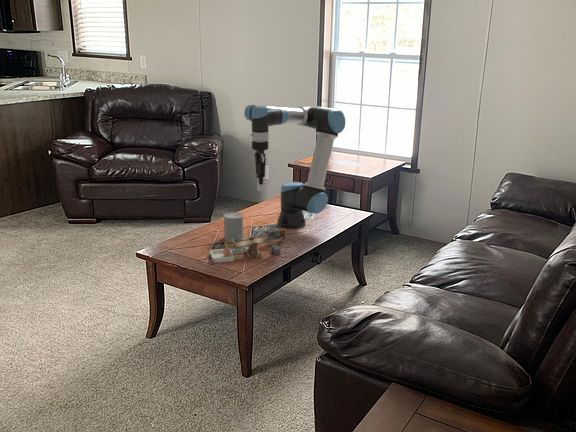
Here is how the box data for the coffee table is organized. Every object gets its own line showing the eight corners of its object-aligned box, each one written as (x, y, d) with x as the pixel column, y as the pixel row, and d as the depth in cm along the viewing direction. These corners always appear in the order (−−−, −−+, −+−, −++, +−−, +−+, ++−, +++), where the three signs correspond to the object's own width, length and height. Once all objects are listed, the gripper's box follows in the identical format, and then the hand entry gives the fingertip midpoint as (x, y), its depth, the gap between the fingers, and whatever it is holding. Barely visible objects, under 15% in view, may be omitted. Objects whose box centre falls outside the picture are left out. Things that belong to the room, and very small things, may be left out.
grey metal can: (240, 242, 290) (239, 219, 286) (221, 241, 292) (221, 217, 288) (245, 235, 299) (245, 213, 295) (227, 234, 301) (226, 211, 297)
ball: (228, 246, 273) (221, 248, 272) (230, 249, 270) (222, 250, 269) (229, 253, 274) (222, 254, 274) (231, 256, 271) (223, 257, 270)
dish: (230, 252, 278) (230, 248, 278) (234, 260, 268) (234, 256, 268) (209, 254, 276) (209, 250, 275) (213, 262, 266) (213, 258, 265)
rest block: (277, 249, 282) (277, 244, 281) (280, 254, 276) (280, 249, 276) (271, 250, 281) (271, 245, 280) (274, 254, 276) (274, 250, 275)
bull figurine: (259, 243, 290) (259, 227, 287) (284, 239, 295) (284, 224, 292) (262, 246, 286) (262, 230, 283) (287, 242, 291) (287, 227, 288)
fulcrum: (257, 250, 280) (257, 236, 278) (261, 257, 273) (261, 242, 270) (245, 251, 279) (244, 237, 277) (248, 258, 271) (248, 243, 269)
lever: (278, 236, 280) (277, 227, 278) (281, 241, 274) (280, 230, 273) (224, 246, 274) (223, 236, 272) (226, 250, 269) (225, 240, 267)
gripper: (249, 138, 271) (249, 187, 278) (255, 143, 259) (255, 194, 266) (264, 137, 272) (264, 186, 280) (271, 143, 261) (271, 193, 268)
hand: (260, 190), depth 273 cm, fingers closed
